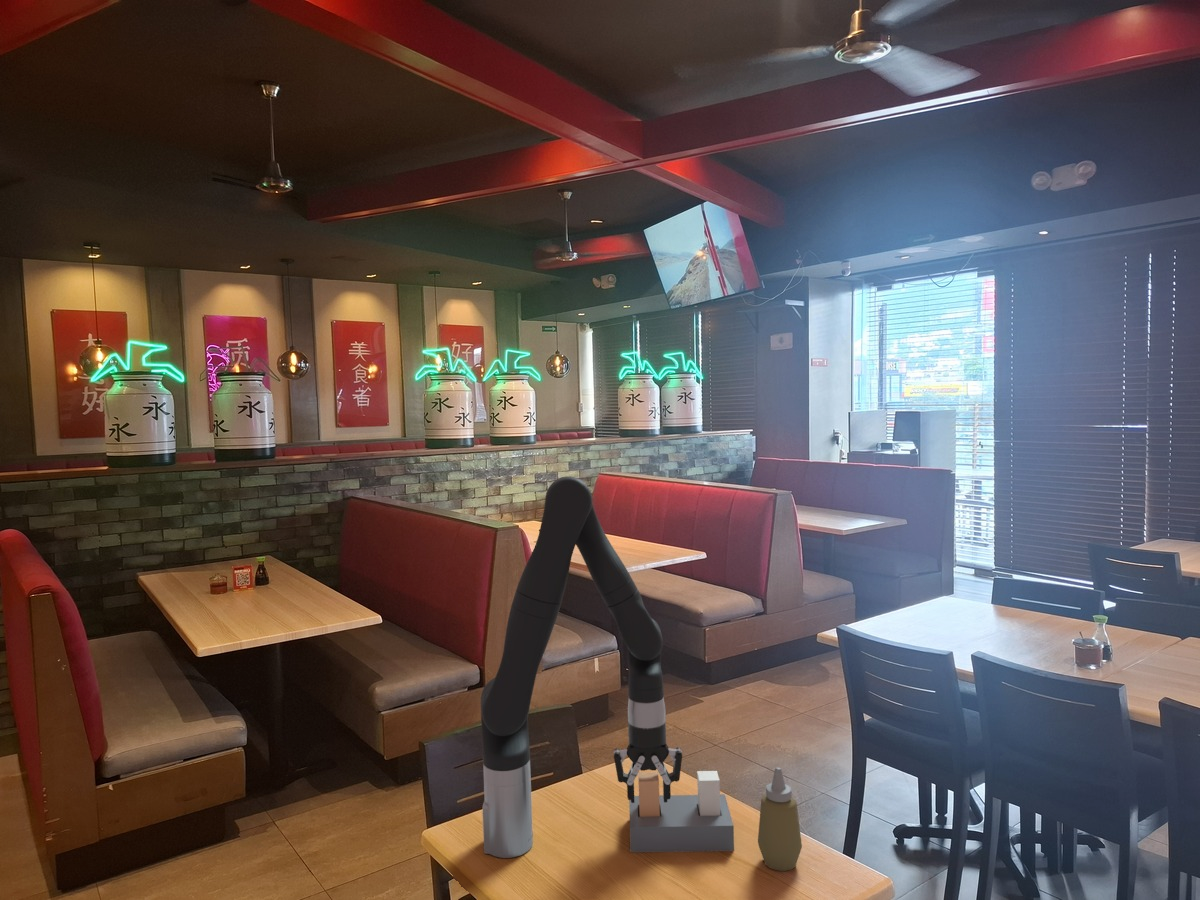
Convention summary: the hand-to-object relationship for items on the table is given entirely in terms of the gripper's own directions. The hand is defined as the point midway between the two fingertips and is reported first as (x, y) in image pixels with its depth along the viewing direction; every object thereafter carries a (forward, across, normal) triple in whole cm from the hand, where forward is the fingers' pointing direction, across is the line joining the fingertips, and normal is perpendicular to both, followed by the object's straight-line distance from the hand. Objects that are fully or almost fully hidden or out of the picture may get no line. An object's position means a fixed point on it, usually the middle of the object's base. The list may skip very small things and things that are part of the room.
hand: (649, 800), depth 153 cm
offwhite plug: (+7, +12, 0) cm, 14 cm away
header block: (+7, +6, 0) cm, 9 cm away
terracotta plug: (+7, 0, 0) cm, 7 cm away
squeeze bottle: (+7, +24, -10) cm, 27 cm away
